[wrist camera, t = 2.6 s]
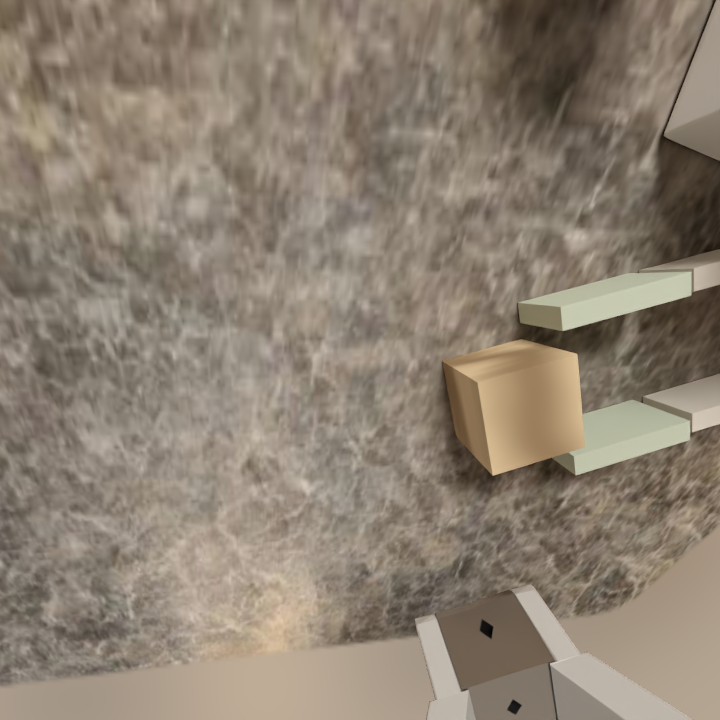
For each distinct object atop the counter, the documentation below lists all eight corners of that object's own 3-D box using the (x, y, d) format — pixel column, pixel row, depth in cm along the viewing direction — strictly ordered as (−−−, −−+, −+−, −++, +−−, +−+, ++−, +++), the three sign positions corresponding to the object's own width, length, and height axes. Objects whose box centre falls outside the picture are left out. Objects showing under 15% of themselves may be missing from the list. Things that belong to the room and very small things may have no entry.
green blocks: (534, 445, 22) (575, 475, 18) (517, 302, 19) (560, 307, 16) (632, 416, 22) (689, 439, 19) (627, 273, 20) (691, 271, 17)
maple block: (455, 435, 21) (492, 475, 17) (441, 360, 20) (477, 382, 15) (529, 413, 21) (585, 447, 17) (520, 338, 20) (577, 354, 16)
